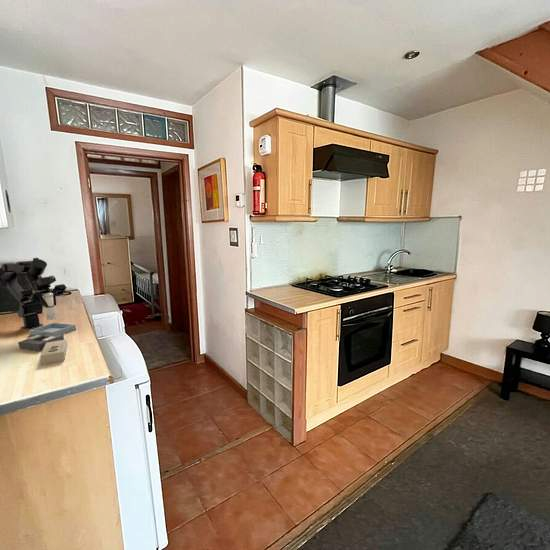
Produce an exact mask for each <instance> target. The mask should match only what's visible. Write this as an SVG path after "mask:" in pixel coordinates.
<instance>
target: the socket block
mask: <svg viewBox="0 0 550 550" xmlns="http://www.w3.org/2000/svg"><path fill="white" fill-rule="evenodd" d="M64 335H65V334H62V335H58V334H48V333H43V334H40V335H36V336H30V337H28V338H25V339H24V340H21V341H18V348H20V349H19V350H25V349H28V350H27V351H33V350H36V351H35V352H42V351H41V350H43V348H44V347H45V344H46V343H47V342H53V341H59V340H65V338H64Z"/></svg>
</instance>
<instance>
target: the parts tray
mask: <svg viewBox="0 0 550 550" xmlns="http://www.w3.org/2000/svg"><path fill="white" fill-rule="evenodd" d="M72 330H73V331H74V330H77V326H76V324H75V323H73V324H72V323H62V322H51V323H48V324H43V325H41V326H38V327H35V328H32V329H28V331H29V336H30V337H33V336H36V335H40V334H43V333H48V334H58V335H65V334H67V333H70V332H72ZM64 333H65V334H64Z"/></svg>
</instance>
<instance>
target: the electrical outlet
mask: <svg viewBox="0 0 550 550" xmlns="http://www.w3.org/2000/svg"><path fill="white" fill-rule="evenodd" d="M67 350H68V339H65V338H64V340H59V341H53V342H47V343H46V344H45V347H44V348H43V350H42V351H41V353H40V357H39V359H40V365H41V366H44V364H46V365H50V364H49V363H51V364H54V363H53V362H56V363H59V361H61V362H65V361H64V360H66V357H67ZM65 356H66V357H65Z"/></svg>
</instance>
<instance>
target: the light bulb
mask: <svg viewBox="0 0 550 550" xmlns="http://www.w3.org/2000/svg"><path fill="white" fill-rule="evenodd" d="M43 298H44V300H45V301H46V303H47V305H48V307H47V308H46V307H45V312H46V320H47V321H52V320H56V319H57V315H56V310H55V305H54V301H53V293H45V294H44V295H43Z"/></svg>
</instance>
